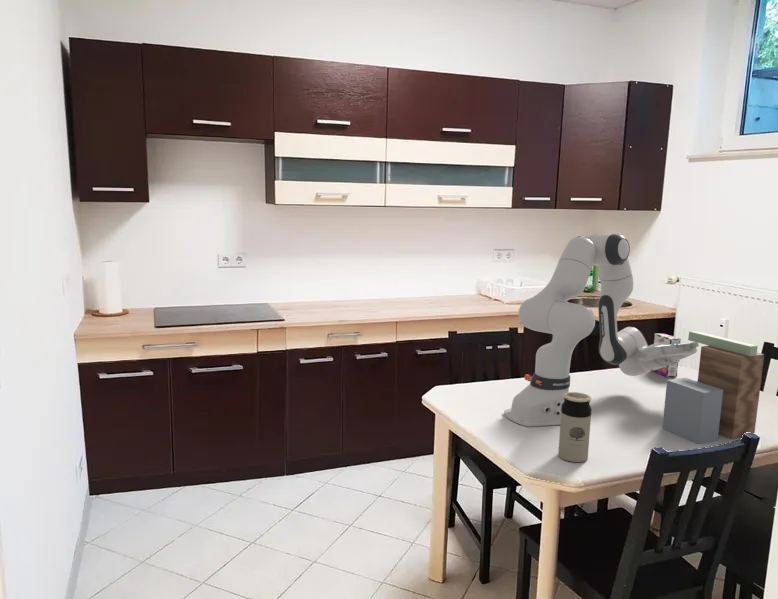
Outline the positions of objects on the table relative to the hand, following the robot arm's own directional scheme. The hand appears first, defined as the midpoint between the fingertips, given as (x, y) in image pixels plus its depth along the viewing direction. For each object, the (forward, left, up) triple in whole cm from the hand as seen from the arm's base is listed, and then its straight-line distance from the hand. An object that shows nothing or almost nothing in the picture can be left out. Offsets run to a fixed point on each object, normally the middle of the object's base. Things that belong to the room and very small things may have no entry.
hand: (686, 344), depth 201 cm
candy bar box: (+33, +37, -24) cm, 55 cm away
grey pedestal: (-14, -16, -24) cm, 32 cm away
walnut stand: (0, -17, -24) cm, 29 cm away
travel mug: (-60, -17, -24) cm, 67 cm away
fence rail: (0, -13, +2) cm, 13 cm away
